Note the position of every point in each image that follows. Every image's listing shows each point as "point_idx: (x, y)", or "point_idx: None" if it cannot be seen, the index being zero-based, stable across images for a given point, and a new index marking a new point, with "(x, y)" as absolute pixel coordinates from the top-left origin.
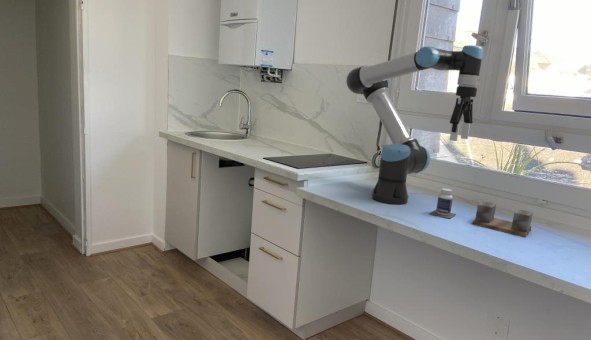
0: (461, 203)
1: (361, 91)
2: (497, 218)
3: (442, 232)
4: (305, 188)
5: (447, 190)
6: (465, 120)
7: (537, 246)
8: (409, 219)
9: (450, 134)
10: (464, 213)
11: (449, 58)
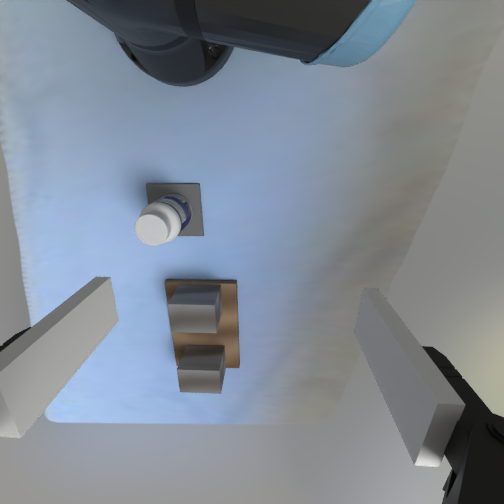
0: (341, 211)
1: None
2: (237, 315)
3: (51, 251)
4: None
5: (138, 236)
6: (490, 458)
7: (146, 377)
8: (55, 165)
9: (68, 300)
10: (238, 245)
11: None
